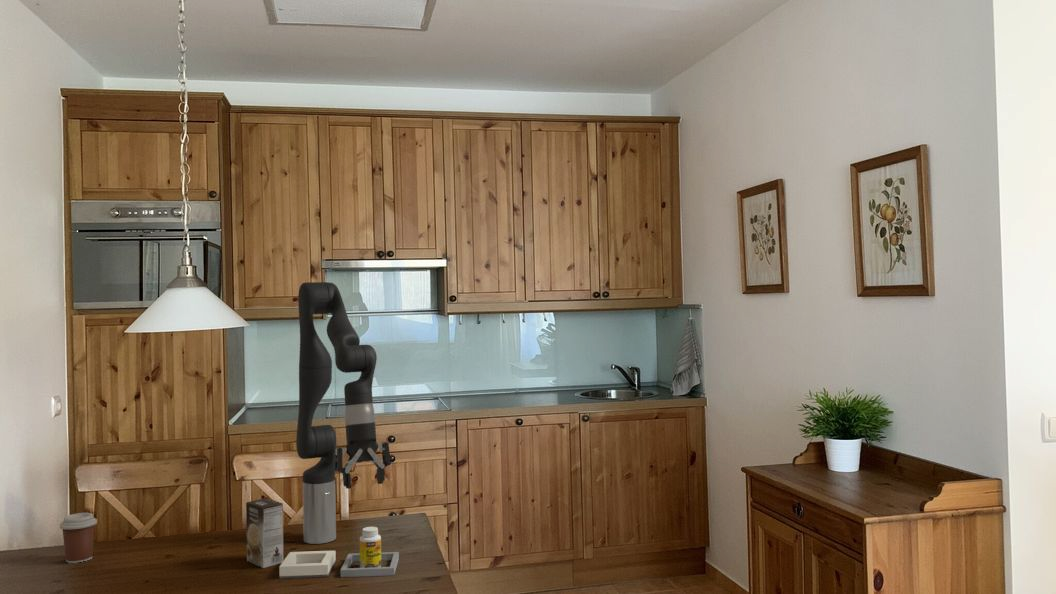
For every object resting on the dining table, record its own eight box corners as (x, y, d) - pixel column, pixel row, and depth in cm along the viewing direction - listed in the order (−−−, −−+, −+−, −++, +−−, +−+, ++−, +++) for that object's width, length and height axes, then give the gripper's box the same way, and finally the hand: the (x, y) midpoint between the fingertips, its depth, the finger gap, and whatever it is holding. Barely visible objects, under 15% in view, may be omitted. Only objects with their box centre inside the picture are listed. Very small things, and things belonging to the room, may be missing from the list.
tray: (348, 560, 222) (348, 553, 222) (398, 558, 223) (398, 551, 223) (340, 577, 209) (340, 570, 209) (394, 575, 209) (393, 568, 209)
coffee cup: (52, 562, 224) (51, 518, 224) (84, 552, 232) (83, 510, 232) (73, 567, 220) (73, 522, 220) (105, 557, 228) (104, 513, 228)
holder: (290, 563, 220) (289, 552, 220) (335, 561, 221) (335, 550, 221) (279, 578, 208) (279, 566, 208) (327, 576, 209) (327, 565, 209)
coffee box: (245, 561, 222) (244, 501, 222) (267, 555, 227) (266, 497, 227) (263, 568, 216) (262, 507, 216) (285, 562, 221) (284, 502, 221)
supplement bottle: (364, 572, 212) (364, 532, 212) (356, 566, 216) (355, 527, 216) (384, 568, 215) (384, 529, 215) (376, 562, 219) (375, 524, 219)
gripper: (380, 419, 220) (384, 481, 218) (328, 425, 212) (332, 489, 210) (391, 419, 214) (396, 482, 212) (338, 424, 206) (342, 490, 204)
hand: (364, 486), depth 211 cm, fingers open, 8 cm apart
